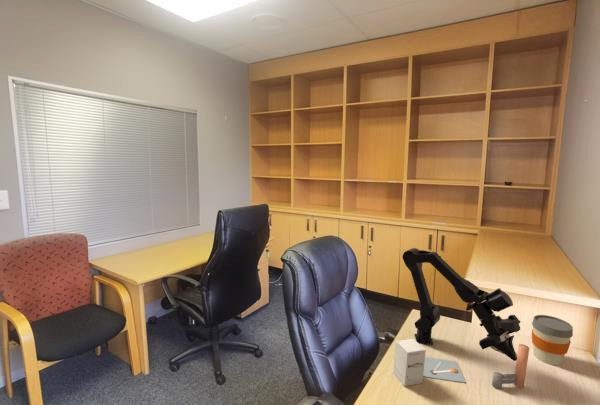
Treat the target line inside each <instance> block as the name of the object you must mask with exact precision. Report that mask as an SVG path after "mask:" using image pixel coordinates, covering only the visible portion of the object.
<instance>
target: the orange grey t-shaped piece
mask: <svg viewBox="0 0 600 405" xmlns="http://www.w3.org/2000/svg"><path fill="white" fill-rule="evenodd" d="M529 355H530V347H529V346H528V345H526V344H523V343H521V344H520V343H519V344H518V346H517V354H516V356H517V360H516V362H515V370H514V373H505V374H502V373H501V372H498V371H494V372H493V375H492V381H491V384H492V386H493V387H494V388H495V389H498V390H500V389H502V386H503V385H506V384H507V385H509V384H512V385H515V386H516V387H517V388H520V389H521V388H522V389H523V388H525V382H526V376H527V368H528V360H529Z"/></svg>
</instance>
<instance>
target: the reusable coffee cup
mask: <svg viewBox="0 0 600 405" xmlns="http://www.w3.org/2000/svg"><path fill="white" fill-rule="evenodd" d="M531 325H532V329H531V343H532V345H533V346H532V348H533V349H532V350H533V356H534V357H535V358H536V359H537V360H538V361H541V362H542V363H544V364H547V365H551V366H561V365H562V363H563V360H564V359H565V355H566V354H568V351H569V349H570V345H571V342H572V340H571V338H572V337H573V336H574V335H573V334H574V327H573V325H571V323H569V322H568V321H565V320H564V319H561V318H558V317H555V316H552V315H545V314H537V315H534V316H533V319H532V321H531Z"/></svg>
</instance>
